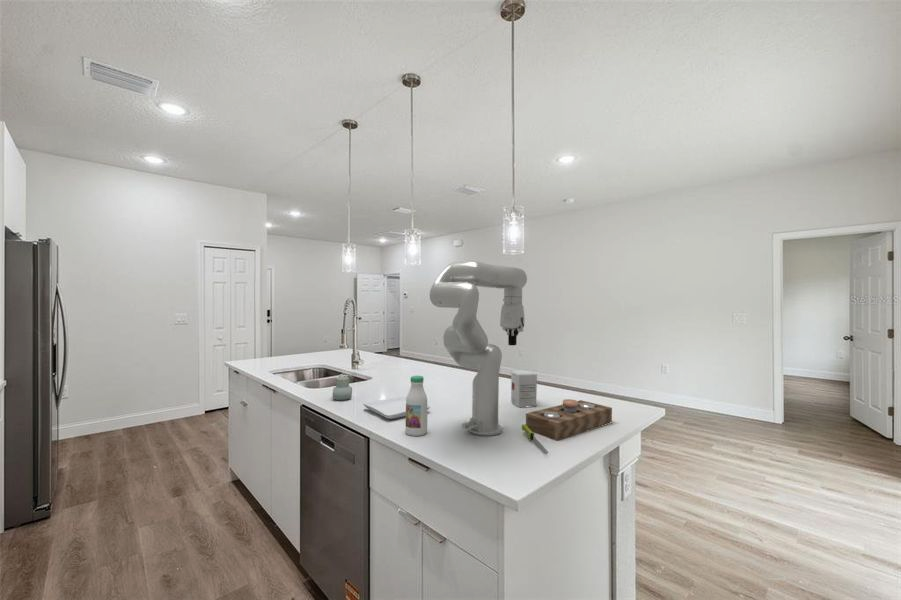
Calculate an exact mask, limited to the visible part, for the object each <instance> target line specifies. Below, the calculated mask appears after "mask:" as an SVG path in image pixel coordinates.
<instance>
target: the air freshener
mask: <svg viewBox="0 0 901 600" xmlns="http://www.w3.org/2000/svg"><path fill="white" fill-rule="evenodd" d="M335 379H336V380H335V383H336V384H335V387H333V389H332V398H333V399H334V400H336V401H348V400H350V399H351V398H352V396H353V387H352V386H351V385H350V378H349V377H348V376H339V377H337V378H335Z"/></svg>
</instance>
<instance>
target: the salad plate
mask: <svg viewBox="0 0 901 600" xmlns="http://www.w3.org/2000/svg"><path fill="white" fill-rule="evenodd" d="M406 399H407V396H406V397H405V396H399V397H393V398H386V399H380V400H375V401H369V402H363V406H364V407H365V408H366V409H368V410H369V411H371V412H373V413H375V414H377V415H379V416H381V417H384V418H386V419H388V420H395V419H400V418H406ZM430 408H431V405H428V404H427V411H429V409H430Z"/></svg>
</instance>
